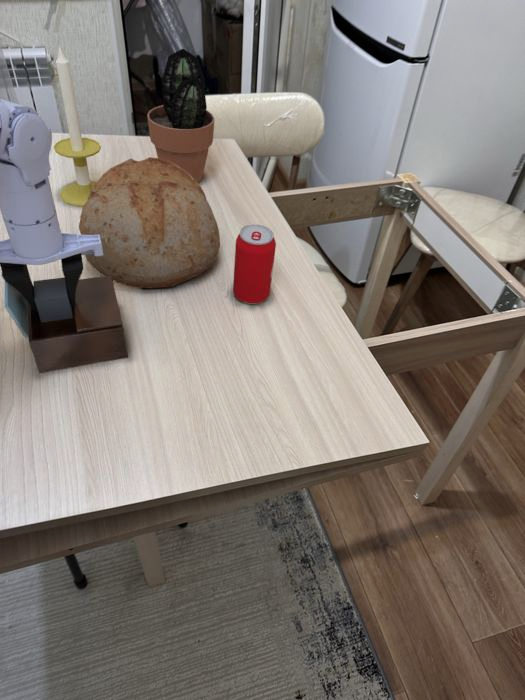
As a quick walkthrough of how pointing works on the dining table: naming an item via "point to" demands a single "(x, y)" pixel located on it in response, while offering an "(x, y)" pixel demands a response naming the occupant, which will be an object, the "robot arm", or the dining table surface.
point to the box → (80, 329)
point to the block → (52, 299)
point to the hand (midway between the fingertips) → (54, 303)
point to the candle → (74, 140)
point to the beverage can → (253, 264)
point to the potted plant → (183, 116)
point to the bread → (150, 224)
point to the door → (17, 308)
